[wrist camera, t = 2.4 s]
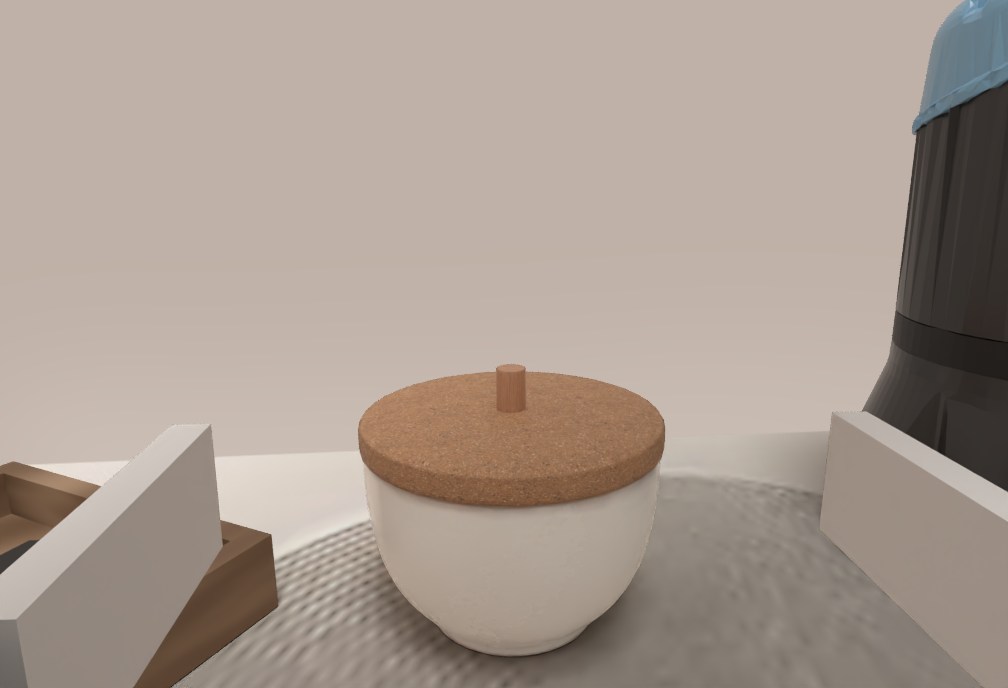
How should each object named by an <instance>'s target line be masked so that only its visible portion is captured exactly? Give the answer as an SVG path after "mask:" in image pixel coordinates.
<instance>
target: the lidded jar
mask: <svg viewBox="0 0 1008 688" xmlns="http://www.w3.org/2000/svg"><path fill="white" fill-rule="evenodd" d="M358 436H359V449H360V453H361V457H362V460H363V462H364V475H365V487H366V496H367V505H368V510H369V515H370V519H371V524H372V529H373V532H374V536H375V539H376V543H377V546H378V549H379V552H380V555H381V558H382V561H383V563H384V565H385V567H386V569H387V570H388V572H389V574H390V576H391V578H392V580H393V581H394V583H395V584H396V586H397V588H398V589H399V590H400V592H401V593H402V594H403V595H404V596H405V598H406V599H407V600H408V601H409V602H410V603H411V604H412V605H413V606H414V607H415V608H416V609H417V610H418V611H419V612H420V613H422V614H423V615H424V616H425V617H427V618H428V619H429V620H431V621H432V622H434V623H435V624H437V625H438V627H439V628H440V630H441V631H442V632H443V633H444V634H445V635H446V636H447V637H449V638H450V639H451V640H453V641H454V642H456V643H457V644H460V645H462V646H464V647H466V648H468V649H471V650H474V651H477V652H480V653H485V654H489V655H496V656H506V657H513V656H529V655H536V654H541V653H545V652H549V651H552V650H554V649H557V648H560V647H562V646H564V645H566V644H568V643H570V642H571V641H573V640H574V639H575V638H577V637H578V636H579V635H580V634H581V633H582V632H583V631H584V630H585V629H586V627H587V626H588V624H590V623H591V622H593V621H594V620H595V619H597V618H598V617H600V616H601V615H602V614H603V613H604V612H606V611H607V610H608V609H609V608H610V607H611V606H612V605H613V604H614V603H615V602H616V601H617V600H618V599H619V597H620V596H621V595H622V594H623V592H624V591H625V590H626V589H627V587H628V586H629V584H630V582H631V581H632V579H633V577H634V576H635V574H636V572H637V570H638V568H639V566H640V564H641V562H642V560H643V557H644V554H645V551H646V547H647V544H648V541H649V538H650V534H651V530H652V526H653V521H654V516H655V510H656V505H657V497H658V487H659V472H660V460H661V457H662V454H663V450H664V442H665V425H664V419H663V418H662V416H661V415H660V413H659V411H658V410H657V409H656V408H655V407H654V406H653V405H652V404H651V403H650V402H649V401H648V400H646V399H644V398H642V397H641V396H639V395H637V394H635V393H633V392H630V391H629V390H627V389H624V388H621V387H618V386H615V385H612V384H608V383H604V382H601V381H597V380H593V379H588V378H583V377H577V376H570V375H563V374H555V373H541V372H525V367H524V366H521V365H515V364H507V365H501V366H498V367H497V368H496V372H485V373H475V374H465V375H457V376H451V377H444V378H439V379H435V380H430V381H427V382H423V383H418V384H414V385H411V386H409V387H406V388H403V389H401V390H398V391H395V392H393V393H391V394H389V395H387V396H384V397H383V398H381V399H380V400H378V401H377V402H375V403H374V404H373V405H372V406H371V407H370V408H368V410H366V412H365V413H364V415H363V417H362V419H361V420H360V422H359V428H358Z"/></svg>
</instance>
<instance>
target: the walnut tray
mask: <svg viewBox="0 0 1008 688" xmlns="http://www.w3.org/2000/svg"><path fill="white" fill-rule="evenodd" d="M100 487H102V486H98V485H95V484H91V483H88V482H84V481H81V480H77V479H74V478H70V477H67V476H63V475H59V474H56V473H52V472H49V471H45V470H42V469H38V468H35V467H31V466H28V465H24V464H21V463H17V462H10V463H8V464H4V465H2V466H0V555H1V554H3V553H5V552H7V551H9V550H11V549H13V548H15V547H17V546H19V545H21V544H23V543H25V542H27V541H29V540H41V539H42V538H43V537H44V536H45V535H46V534H47V533H49V532H50V531H51V530H52V529H53V528H54V527H56V526H57V525H58V524H59V523H60V522H61V521H62V520H64V519H65V518H66V517H67V516H68V515H69V514H70V513H72V512H73V511H74V510H75V509H76V508H77V507H79V506H80V505H81V504H82V503H83V502H84V501H85V500H87V499H88V498H89V497H90V496H91V495H92V494H93V493H95V492H96V491H97V490H98V489H99V488H100ZM220 523H221V533H222V544H223V547H222V548H221V550H220V552H219V553H218V555H217V556H216V558H215V559H214V561H213V563H212V564H211V566H210V567H209V569H208V571H207V572H206V574H205V575H204V577H203V578H202V580H201V582H200V583H199V585H198V586H197V588H196V589H195V591H194V593H193V594H192V596H191V597H190V599H189V600H188V602H187V604H186V605H185V607H184V608H183V610H182V612H181V613H180V615H179V616H178V618H177V619H176V621H175V623H174V624H173V626H172V627H171V629H170V630H169V632H168V634H167V635H166V637H165V638H164V640H163V641H162V643H161V645H160V646H159V648H158V649H157V651H156V653H155V654H154V656H153V657H152V659H151V660H150V662H149V664H148V665H147V667H146V668H145V670H144V671H143V673H142V675H141V676H140V678H139V679H138V681H137V682H136V684H135V686H134V687H133V688H169V687H171V686H172V685H173V684H175V683H176V682H177V681H179V680H180V679H181V678H183V677H184V676H185V675H187V674H188V673H189V672H191V671H192V670H193V669H195V668H196V667H197V666H199V665H200V664H201V663H203V662H204V661H205V660H207V659H208V658H209V657H211V656H212V655H213V654H215V653H216V652H217V651H219V650H220V649H221V648H223V647H224V646H225V645H227V644H228V643H229V642H231V641H232V640H233V639H235V638H236V637H237V636H239V635H240V634H241V633H243V632H244V631H245V630H247V629H248V628H249V627H251V626H252V625H253V624H255V623H256V622H257V621H259V620H260V619H261V618H263V617H264V616H265V615H267V614H268V613H269V612H271V611H272V610H273V609H275V608H276V607H277V606H278V598H277V588H276V578H275V567H274V557H273V547H272V537H271V534H268V533H264V532H261V531H257V530H254V529H250V528H247V527H243V526H240V525H236V524H232V523H229V522H225V521H222V520H220Z"/></svg>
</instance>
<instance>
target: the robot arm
mask: <svg viewBox="0 0 1008 688" xmlns="http://www.w3.org/2000/svg"><path fill="white" fill-rule="evenodd" d="M912 133H913V134H914V135H916V144H915V152H914V161H913V169H912V177H911V185H910V194H909V203H908V210H907V219H906V227H905V236H904V244H903V252H902V261H901V269H900V277H899V285H898V294H897V302H896V312H895V319H894V327H893V335H892V342H891V348H890V354H889V358H888V361H887V363H886V366H885V367H884V369H883V371H882V373H881V375H880V377H879V379H878V381H877V383H876V385H875V387H874V389H873V390H872V392H871V394H870V397H869V398H868V400H867V402H866V404H865V406H864V408H863V410H862V412H832V418H831V427H830V436H829V445H828V454H827V463H826V472H825V480H824V489H823V498H822V507H821V516H820V525H819V529H820V530H821V531H822V532H823V533H824V534H825V535H826V536H827V537H828V538H829V539H830V540H831V541H832V542H833V543H834V544H835V545H836V546H837V547H839V548H840V549H841V550H842V551H843V552H844V553H845V554H846V555H847V556H848V557H849V558H850V559H851V560H852V561H853V562H854V563H855V564H856V565H857V566H858V567H859V568H860V569H861V570H862V571H863V572H864V573H865V574H866V575H867V576H868V577H869V578H871V579H872V580H873V581H874V582H875V583H876V584H877V585H878V586H879V587H880V588H881V589H882V590H883V591H884V592H885V593H886V594H887V595H888V596H889V597H890V598H891V599H892V600H893V601H894V602H895V603H896V604H897V605H898V606H899V607H900V608H901V609H903V610H904V611H905V612H906V613H907V614H908V615H909V616H910V617H911V618H912V619H913V620H914V621H915V622H916V623H917V624H918V625H919V626H920V627H921V628H922V629H923V630H924V631H925V632H926V633H927V634H928V635H929V636H930V637H931V638H932V639H933V640H935V641H936V642H937V643H938V644H939V645H940V646H941V647H942V648H943V649H944V650H945V651H946V652H947V653H948V654H949V655H950V656H951V657H952V658H953V659H954V660H955V661H956V662H957V663H958V664H959V665H960V666H961V667H962V668H963V669H964V670H965V671H967V672H968V673H969V674H970V675H971V676H972V677H973V678H974V679H975V680H976V681H977V682H978V683H979V684H980V685H981V686H982V687H983V688H1008V0H965V1H963V2H962V3H961V4H960V5H958V6H957V7H956V9H954V10H953V12H952V13H951V14H950V15H949V16H948V17H947V18H946V20H945V21H944V22H943V24H942V25H941V27H940V28H939V30H938V32H937V34H936V36H935V39H934V42H933V46H932V50H931V54H930V60H929V65H928V70H927V75H926V81H925V86H924V91H923V97H922V102H921V107H920V112H919V115H918V116H917V117H916V119H915V120H914V122H913V127H912ZM222 547H223V544H222V533H221V523H220V513H219V502H218V492H217V481H216V471H215V461H214V451H213V440H212V430H211V424H190V425H189V424H188V425H172V426H171V427H169V428H168V429H167V430H166V431H165V432H164V433H162V434H161V435H160V436H159V437H158V438H157V439H156V440H154V441H153V442H152V443H151V444H150V445H149V446H148V447H146V448H145V449H144V450H143V451H142V452H141V453H140V454H138V455H137V456H136V457H135V458H134V459H133V460H131V461H130V462H129V463H128V464H127V465H126V466H125V467H123V468H122V469H121V470H120V471H119V472H118V473H116V474H115V475H114V476H113V477H112V478H111V479H110V480H108V481H107V482H106V483H105V484H104V485H103V486H102V487H100V488H99V489H98V490H97V491H96V492H95V493H93V494H92V495H91V496H90V497H89V498H88V499H87V500H85V501H84V502H83V503H82V504H81V505H80V506H79V507H77V508H76V509H75V510H74V511H73V512H72V513H70V514H69V515H68V516H67V517H66V518H65V519H64V520H62V521H61V522H60V523H59V524H58V525H57V526H56V527H54V528H53V529H52V530H51V531H50V532H49V533H47V534H46V535H45V536H44V537H43V538H42V539H41V540H29V541H27V542H25V543H23V544H21V545H19V546H17V547H15V548H13V549H11V550H9V551H7V552H5V553H3V554H1V555H0V688H133V687H134V686H135V684H136V682H137V681H138V679H139V678H140V676H141V675H142V673H143V671H144V670H145V668H146V667H147V665H148V664H149V662H150V660H151V659H152V657H153V656H154V654H155V653H156V651H157V649H158V648H159V646H160V645H161V643H162V641H163V640H164V638H165V637H166V635H167V634H168V632H169V630H170V629H171V627H172V626H173V624H174V623H175V621H176V619H177V618H178V616H179V615H180V613H181V612H182V610H183V608H184V607H185V605H186V604H187V602H188V600H189V599H190V597H191V596H192V594H193V593H194V591H195V589H196V588H197V586H198V585H199V583H200V582H201V580H202V578H203V577H204V575H205V574H206V572H207V571H208V569H209V567H210V566H211V564H212V563H213V561H214V559H215V558H216V556H217V555H218V553H219V552H220V550H221V548H222Z"/></svg>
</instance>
